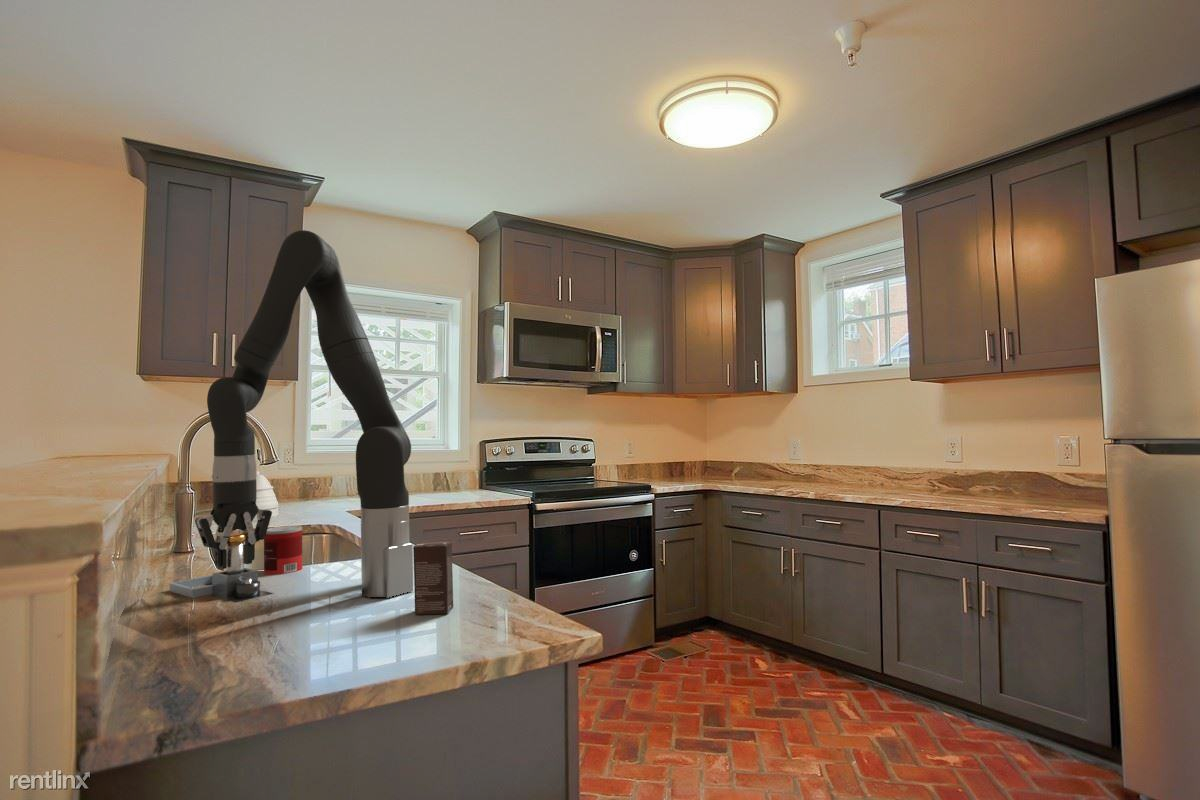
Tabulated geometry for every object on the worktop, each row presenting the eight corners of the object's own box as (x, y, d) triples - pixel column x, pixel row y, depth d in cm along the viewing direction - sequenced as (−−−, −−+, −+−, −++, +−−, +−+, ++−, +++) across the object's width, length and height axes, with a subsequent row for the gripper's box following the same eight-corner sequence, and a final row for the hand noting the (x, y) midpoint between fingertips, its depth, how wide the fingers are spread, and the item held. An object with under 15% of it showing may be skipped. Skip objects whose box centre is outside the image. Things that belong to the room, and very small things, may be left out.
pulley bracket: (273, 601, 121) (273, 572, 121) (236, 610, 116) (235, 580, 116) (245, 593, 127) (245, 566, 128) (208, 602, 122) (208, 573, 122)
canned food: (308, 572, 146) (307, 524, 146) (292, 580, 138) (292, 530, 138) (275, 573, 145) (274, 526, 146) (257, 582, 137) (257, 531, 138)
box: (454, 607, 114) (452, 540, 114) (447, 614, 109) (446, 545, 110) (420, 608, 114) (419, 541, 114) (413, 615, 109) (412, 546, 110)
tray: (237, 595, 127) (237, 580, 127) (192, 605, 120) (192, 589, 120) (213, 588, 132) (213, 574, 132) (169, 598, 126) (169, 583, 126)
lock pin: (250, 591, 123) (249, 534, 124) (229, 596, 120) (229, 537, 121) (240, 589, 125) (240, 532, 126) (220, 593, 122) (220, 536, 123)
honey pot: (233, 519, 242) (233, 472, 243) (260, 514, 254) (260, 470, 255) (260, 520, 238) (259, 472, 239) (286, 515, 251) (285, 470, 252)
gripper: (204, 482, 116) (204, 575, 115) (280, 476, 127) (281, 560, 127) (186, 481, 120) (186, 571, 119) (261, 475, 132) (262, 557, 131)
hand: (235, 565), depth 123 cm, fingers open, 4 cm apart
